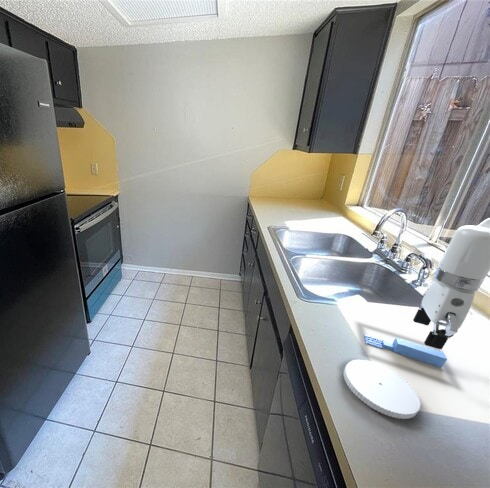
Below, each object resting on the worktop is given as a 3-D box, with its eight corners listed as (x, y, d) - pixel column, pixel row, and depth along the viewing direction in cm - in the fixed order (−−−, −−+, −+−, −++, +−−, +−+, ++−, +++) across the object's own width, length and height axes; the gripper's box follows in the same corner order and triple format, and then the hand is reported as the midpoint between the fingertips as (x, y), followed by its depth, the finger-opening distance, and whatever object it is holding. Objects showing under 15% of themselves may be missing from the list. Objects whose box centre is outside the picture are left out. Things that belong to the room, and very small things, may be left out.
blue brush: (436, 360, 70) (442, 350, 68) (441, 370, 67) (447, 360, 65) (363, 337, 77) (367, 327, 75) (365, 344, 74) (369, 335, 73)
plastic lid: (402, 379, 64) (406, 372, 63) (427, 434, 52) (433, 426, 51) (338, 359, 69) (341, 352, 68) (347, 404, 58) (351, 397, 57)
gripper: (500, 302, 52) (459, 363, 59) (462, 266, 66) (433, 319, 73) (449, 291, 55) (417, 350, 62) (424, 259, 69) (399, 311, 76)
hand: (426, 334), depth 67 cm, fingers open, 9 cm apart
